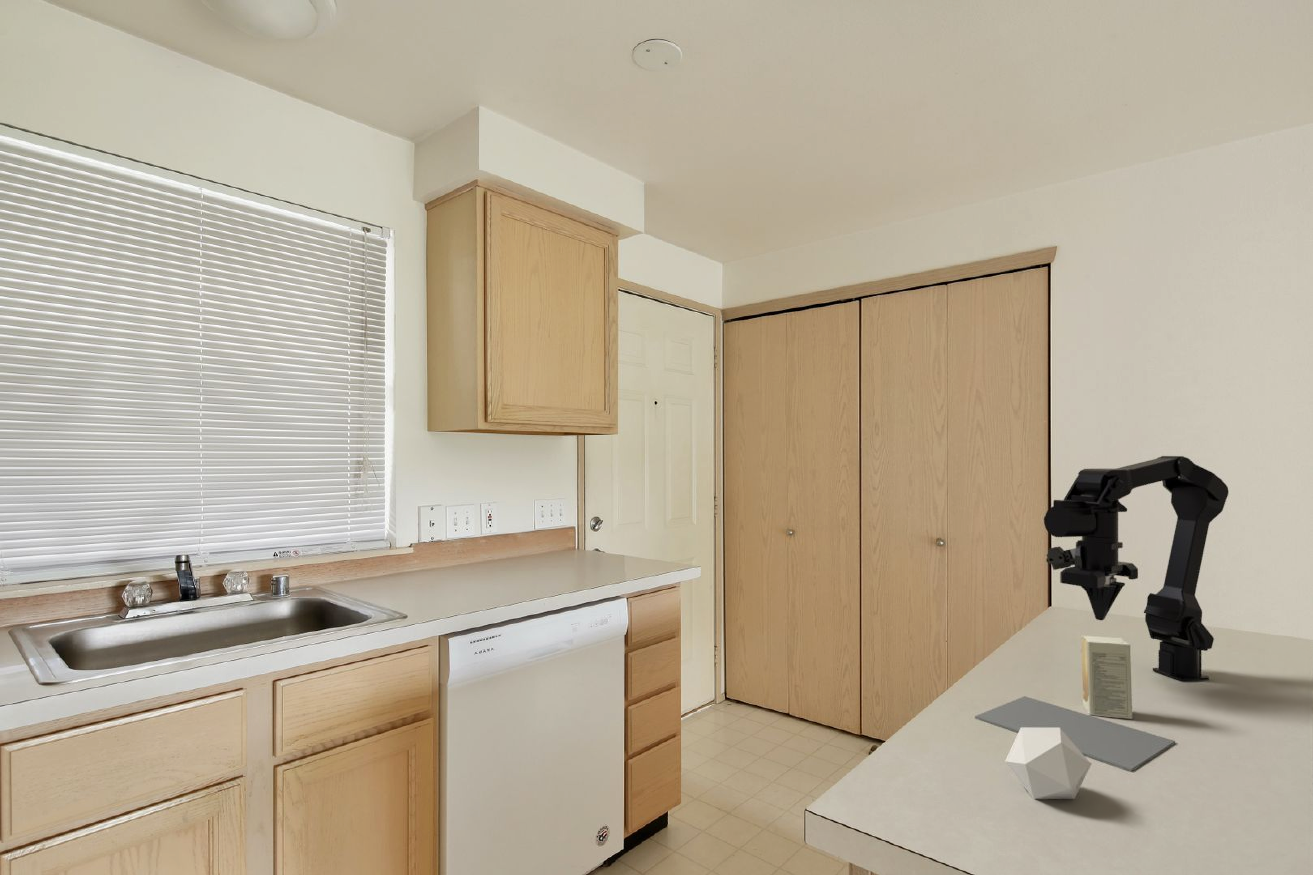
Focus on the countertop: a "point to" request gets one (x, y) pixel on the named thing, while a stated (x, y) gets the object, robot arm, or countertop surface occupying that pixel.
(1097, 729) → the mat
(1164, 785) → the countertop surface
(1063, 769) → the die
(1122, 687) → the skincare box
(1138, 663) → the countertop surface
